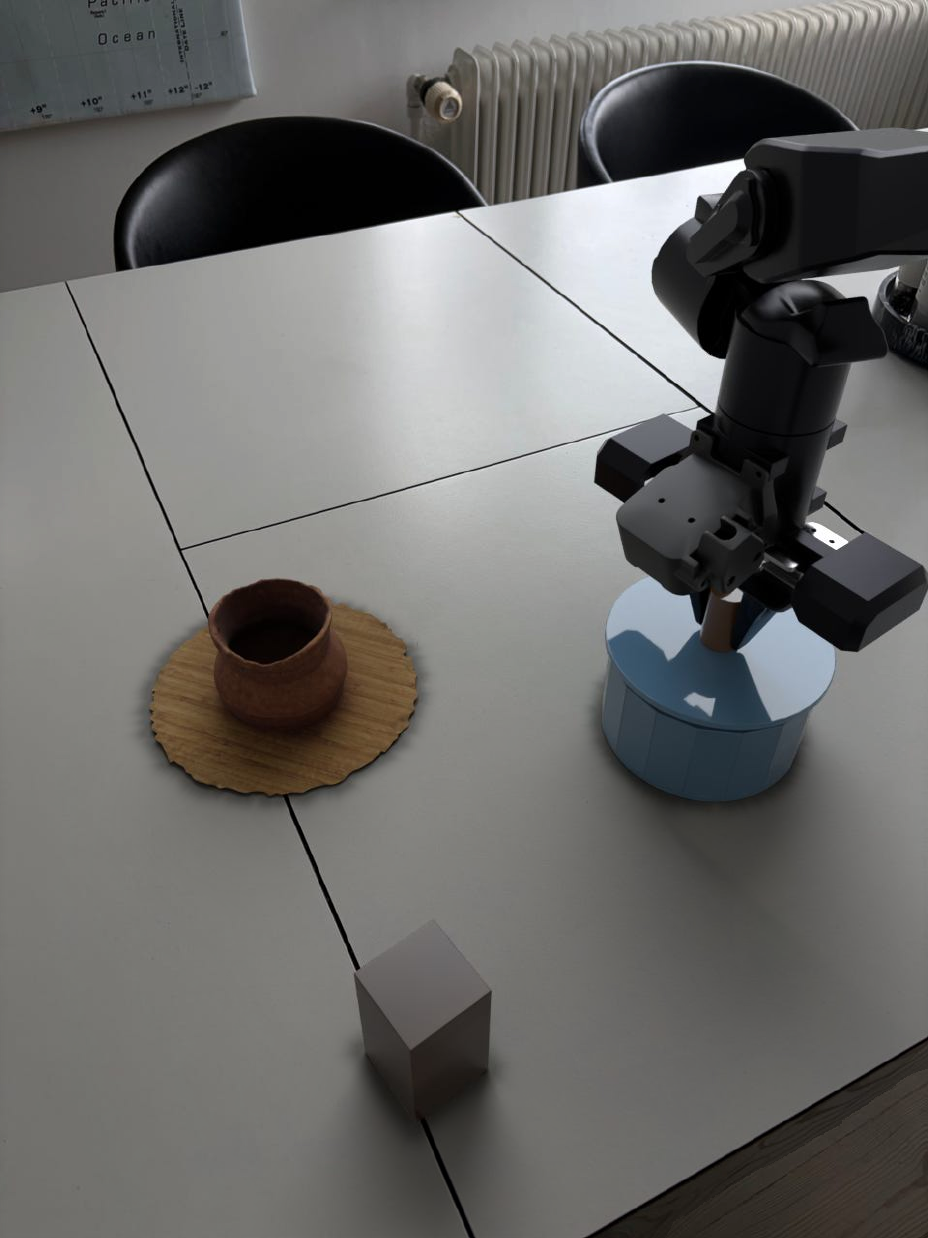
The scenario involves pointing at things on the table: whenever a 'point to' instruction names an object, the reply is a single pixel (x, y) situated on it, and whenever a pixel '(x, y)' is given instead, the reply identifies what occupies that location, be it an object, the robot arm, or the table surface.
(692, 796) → the bowl
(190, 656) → the ceramic pot
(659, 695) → the bowl lid
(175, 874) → the table surface
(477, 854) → the table surface
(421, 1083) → the stand
